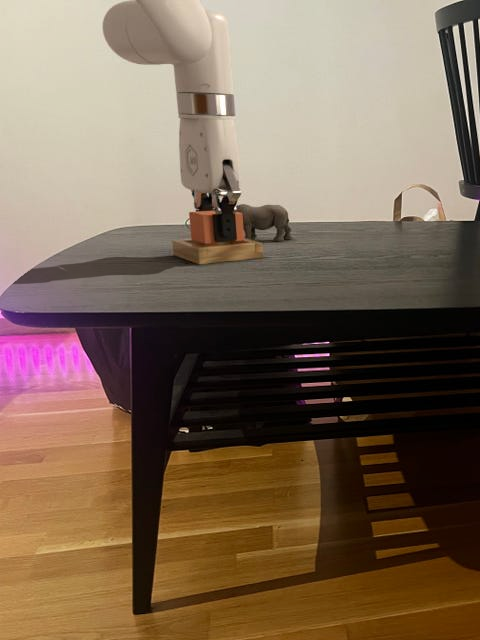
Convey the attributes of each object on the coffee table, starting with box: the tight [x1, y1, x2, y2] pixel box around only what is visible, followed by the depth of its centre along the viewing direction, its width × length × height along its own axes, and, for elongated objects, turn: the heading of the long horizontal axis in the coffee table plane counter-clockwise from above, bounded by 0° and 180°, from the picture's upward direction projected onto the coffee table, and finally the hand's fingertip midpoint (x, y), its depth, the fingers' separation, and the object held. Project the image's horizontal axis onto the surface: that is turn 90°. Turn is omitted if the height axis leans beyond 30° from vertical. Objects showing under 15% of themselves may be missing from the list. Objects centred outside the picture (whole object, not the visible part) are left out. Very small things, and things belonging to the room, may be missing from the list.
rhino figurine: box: [236, 203, 293, 242], centre depth 118 cm, size 4×14×6 cm, turn 107°
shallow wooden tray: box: [171, 237, 264, 265], centre depth 104 cm, size 10×9×2 cm
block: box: [188, 211, 245, 244], centre depth 103 cm, size 6×5×4 cm
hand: (217, 237), depth 104 cm, fingers closed on block, 4 cm apart
